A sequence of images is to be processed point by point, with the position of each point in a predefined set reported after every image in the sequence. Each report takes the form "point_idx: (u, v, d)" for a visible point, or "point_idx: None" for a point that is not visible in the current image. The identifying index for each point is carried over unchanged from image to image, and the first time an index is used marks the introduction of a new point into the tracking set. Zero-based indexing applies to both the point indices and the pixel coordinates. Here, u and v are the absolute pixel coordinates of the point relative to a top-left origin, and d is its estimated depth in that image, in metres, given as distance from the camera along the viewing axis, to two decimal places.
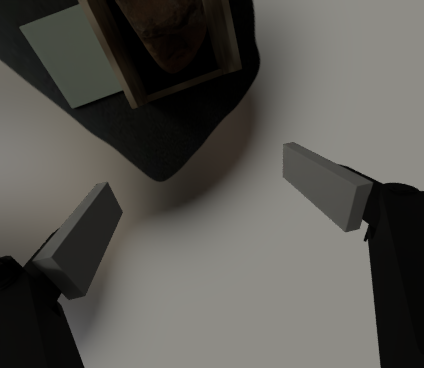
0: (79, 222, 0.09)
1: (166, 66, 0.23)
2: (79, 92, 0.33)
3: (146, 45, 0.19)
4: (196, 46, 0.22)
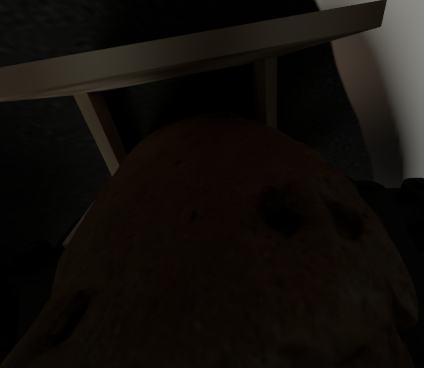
0: None
1: None
2: None
3: None
4: None
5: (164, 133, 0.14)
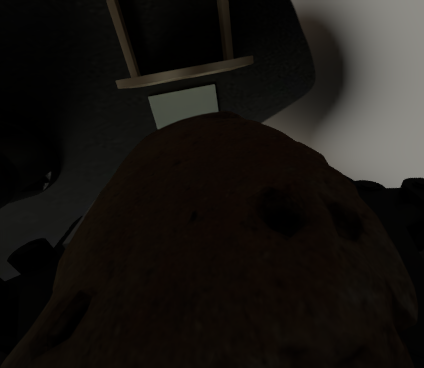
0: None
1: None
2: None
3: None
4: None
5: (164, 133, 0.14)
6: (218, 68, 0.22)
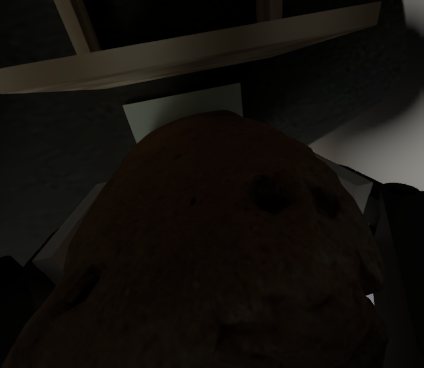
0: (79, 222, 0.09)
1: None
2: None
3: None
4: None
5: (165, 131, 0.14)
6: (285, 37, 0.08)
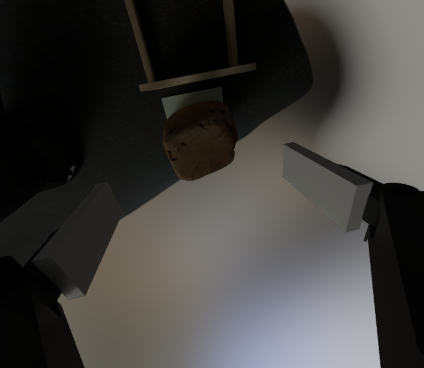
0: (79, 222, 0.09)
1: None
2: None
3: None
4: None
5: (184, 108, 0.32)
6: (226, 73, 0.26)
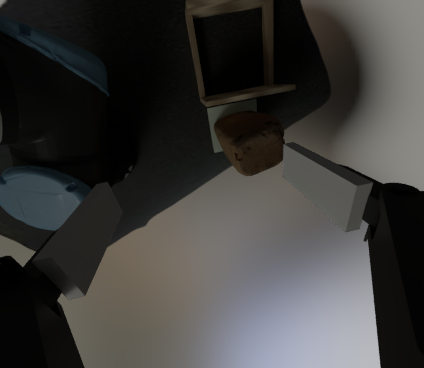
0: (79, 222, 0.09)
1: None
2: None
3: None
4: None
5: (231, 118, 0.40)
6: (272, 93, 0.34)
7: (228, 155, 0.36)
